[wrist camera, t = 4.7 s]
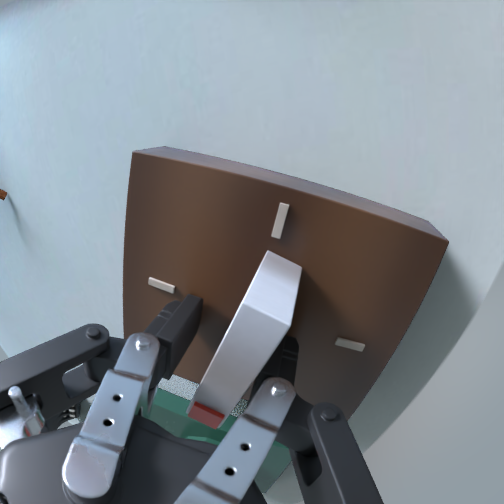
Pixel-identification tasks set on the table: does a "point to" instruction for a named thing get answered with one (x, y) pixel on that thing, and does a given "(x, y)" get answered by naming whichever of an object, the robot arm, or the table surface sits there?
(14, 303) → the table surface
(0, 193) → the glasses
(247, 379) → the tap handle
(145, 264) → the block
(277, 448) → the button box
